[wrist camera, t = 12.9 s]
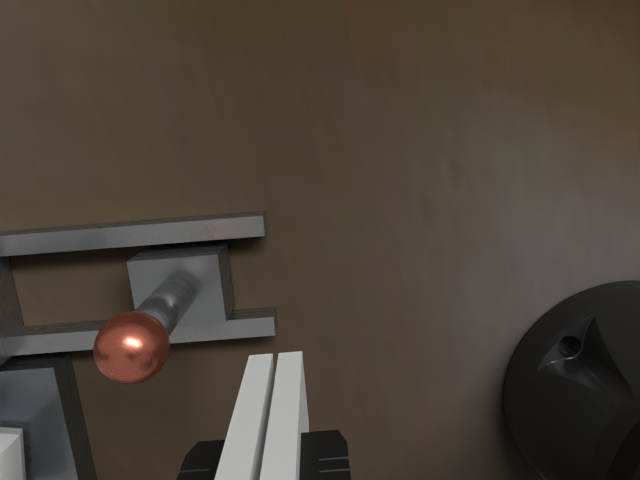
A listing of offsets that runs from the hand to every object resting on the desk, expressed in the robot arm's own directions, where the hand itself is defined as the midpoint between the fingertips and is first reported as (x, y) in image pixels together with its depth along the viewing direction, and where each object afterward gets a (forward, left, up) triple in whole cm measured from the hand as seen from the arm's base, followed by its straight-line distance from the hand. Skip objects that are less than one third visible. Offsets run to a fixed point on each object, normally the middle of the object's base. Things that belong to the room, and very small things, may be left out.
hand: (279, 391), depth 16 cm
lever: (+7, 0, -14) cm, 16 cm away
